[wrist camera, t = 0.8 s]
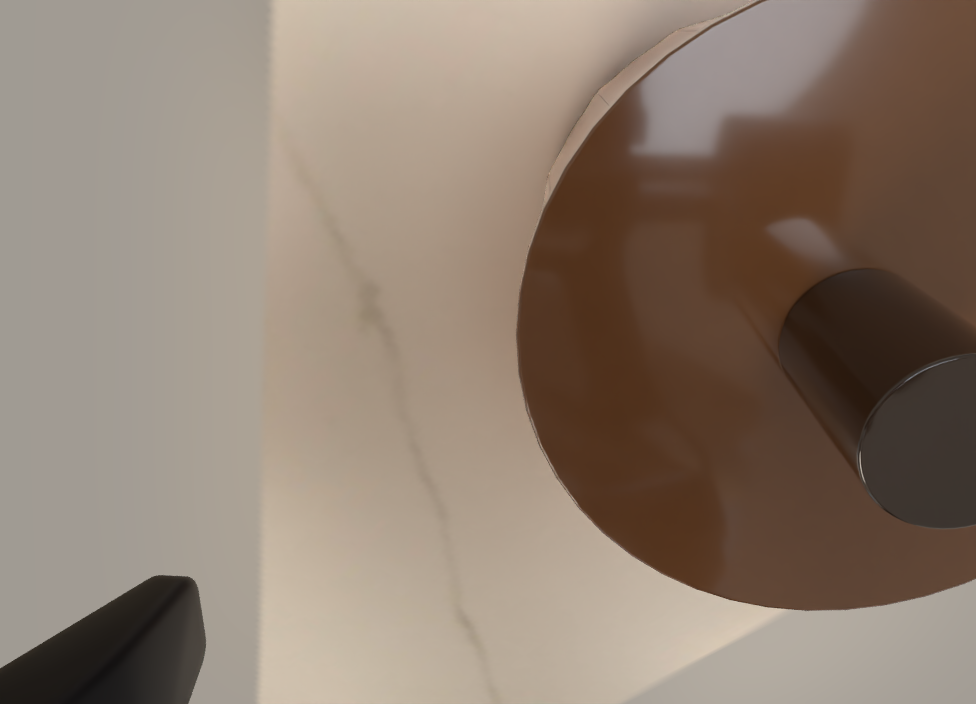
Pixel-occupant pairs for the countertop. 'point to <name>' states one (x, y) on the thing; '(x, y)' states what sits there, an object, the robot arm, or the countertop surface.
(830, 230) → the lid
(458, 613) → the countertop surface
